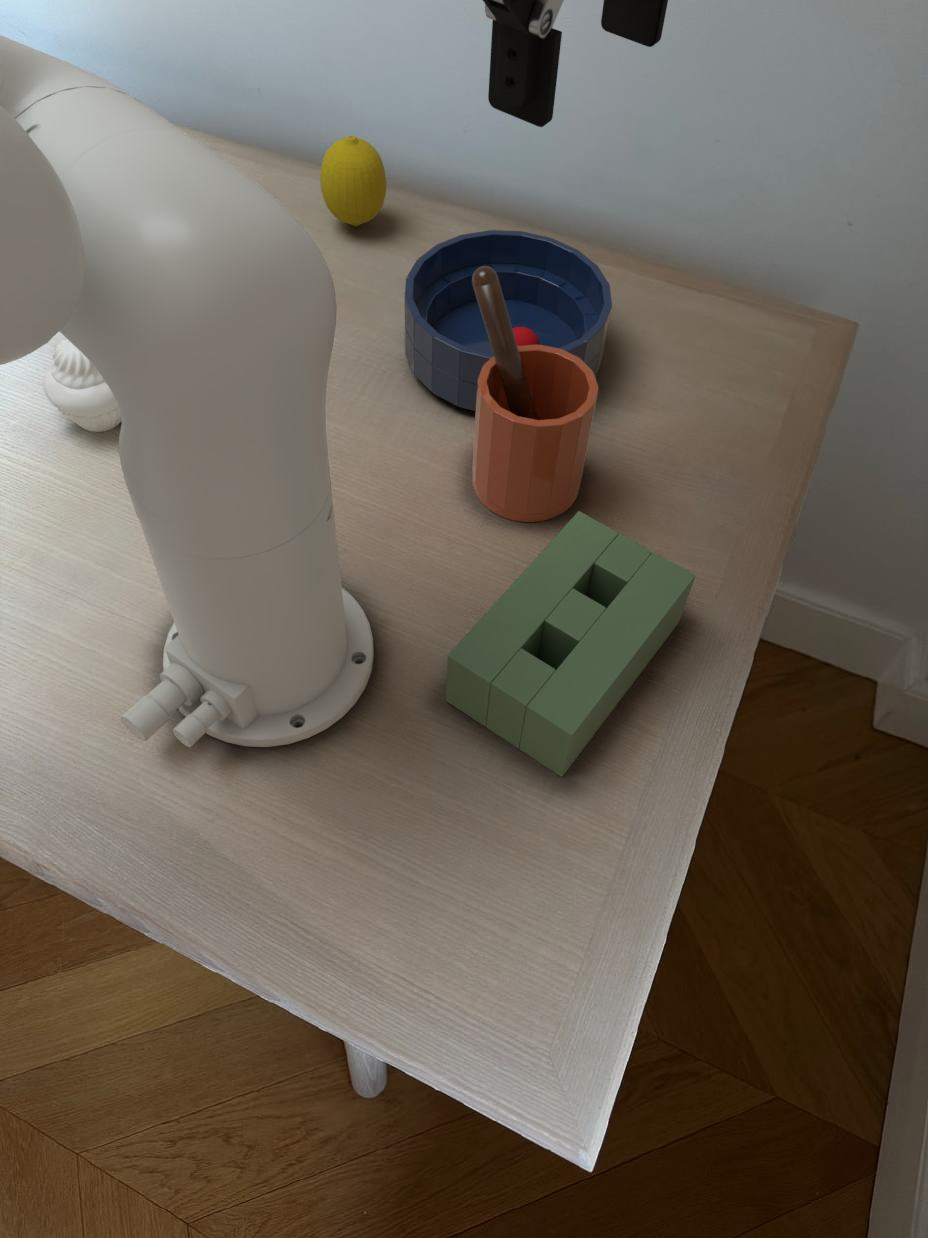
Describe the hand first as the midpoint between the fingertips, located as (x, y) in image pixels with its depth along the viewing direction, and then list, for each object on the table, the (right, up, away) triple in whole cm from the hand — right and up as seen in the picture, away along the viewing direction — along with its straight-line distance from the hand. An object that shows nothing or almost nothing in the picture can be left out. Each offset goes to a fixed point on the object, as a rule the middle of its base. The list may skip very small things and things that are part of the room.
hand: (577, 73), depth 48 cm
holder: (+1, -29, +14) cm, 32 cm away
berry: (-1, -6, +28) cm, 28 cm away
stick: (0, -16, +22) cm, 27 cm away
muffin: (-32, -12, +25) cm, 42 cm away
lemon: (-15, +8, +40) cm, 44 cm away
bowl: (-2, -5, +31) cm, 31 cm away
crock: (-1, -16, +23) cm, 28 cm away
